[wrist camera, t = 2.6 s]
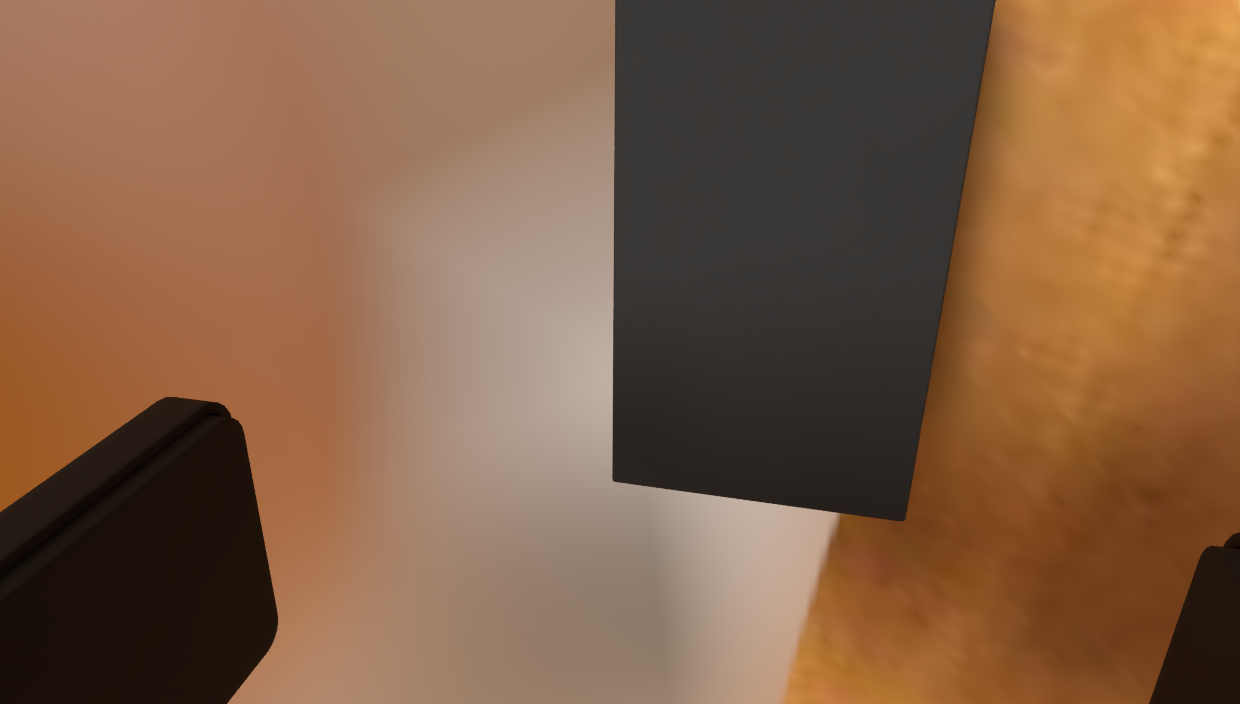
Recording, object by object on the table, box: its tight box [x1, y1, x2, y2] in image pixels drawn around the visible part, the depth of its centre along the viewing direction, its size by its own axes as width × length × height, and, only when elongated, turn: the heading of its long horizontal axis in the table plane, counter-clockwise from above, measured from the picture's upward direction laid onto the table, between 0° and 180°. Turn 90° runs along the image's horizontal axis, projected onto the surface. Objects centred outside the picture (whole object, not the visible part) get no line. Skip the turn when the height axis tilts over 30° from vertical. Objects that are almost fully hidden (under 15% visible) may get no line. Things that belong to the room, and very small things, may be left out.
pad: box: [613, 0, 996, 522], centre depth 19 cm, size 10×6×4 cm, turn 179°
